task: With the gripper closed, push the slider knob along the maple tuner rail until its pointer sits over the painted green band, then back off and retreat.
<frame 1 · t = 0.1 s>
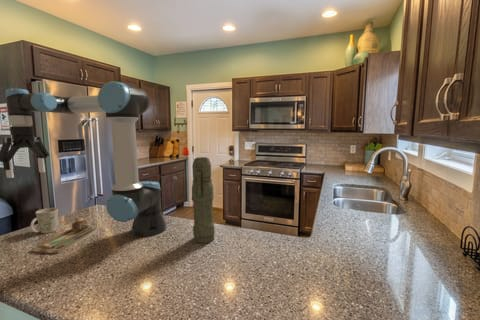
hand: (27, 174, 108), 28 cm above the countertop, fingers open, 13 cm apart
slider knob: (82, 225, 111), point 4 cm above the countertop, slide at 0.0 cm
green carved statue: (204, 239, 104), on the countertop
mug: (45, 233, 114), on the countertop
tuner board: (67, 240, 105), on the countertop
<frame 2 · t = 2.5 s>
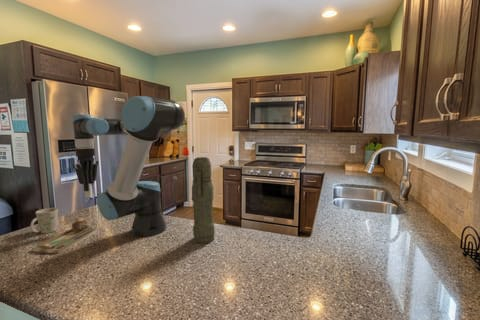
hand: (89, 197, 117), 15 cm above the countertop, fingers closed
nothing on the countertop moved.
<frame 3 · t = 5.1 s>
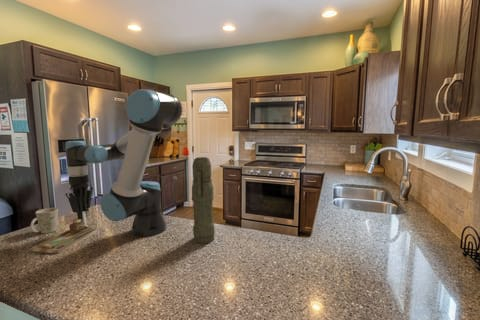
hand: (83, 225, 113), 3 cm above the countertop, fingers closed
slider knob: (80, 226, 109), point 4 cm above the countertop, slide at 1.4 cm, touching gripper
everything else where it was.
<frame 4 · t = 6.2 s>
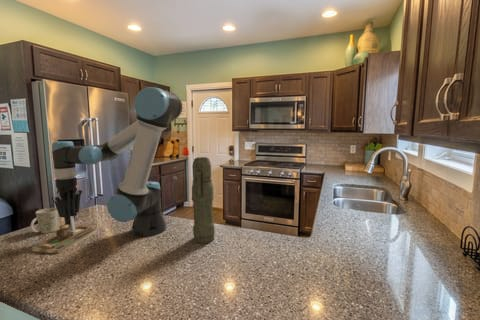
hand: (71, 230, 107), 3 cm above the countertop, fingers closed
slider knob: (68, 232, 103), point 4 cm above the countertop, slide at 7.8 cm, touching gripper
everything else where it was.
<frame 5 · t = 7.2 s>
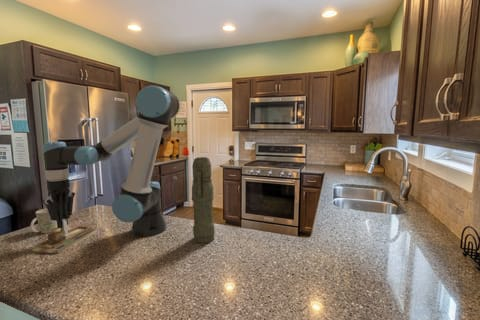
hand: (63, 234, 103), 3 cm above the countertop, fingers closed
slider knob: (60, 235, 100), point 4 cm above the countertop, slide at 11.5 cm, touching gripper
everything else where it was.
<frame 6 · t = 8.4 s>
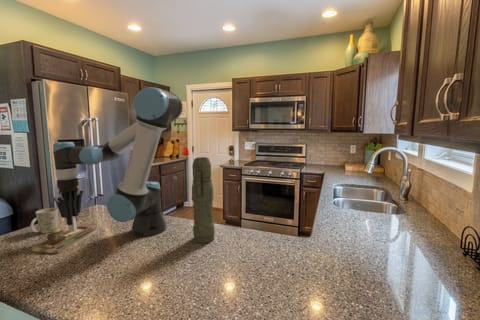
hand: (73, 230, 107), 3 cm above the countertop, fingers closed
slider knob: (59, 236, 99), point 4 cm above the countertop, slide at 11.8 cm
everything else where it was.
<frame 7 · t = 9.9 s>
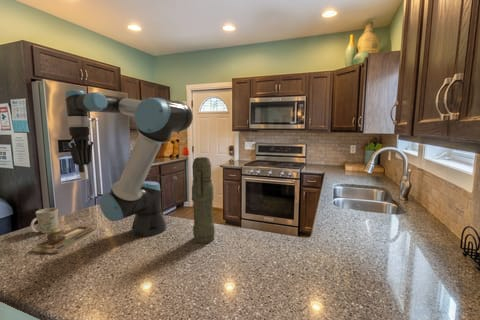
hand: (84, 178, 111), 25 cm above the countertop, fingers closed
nothing on the countertop moved.
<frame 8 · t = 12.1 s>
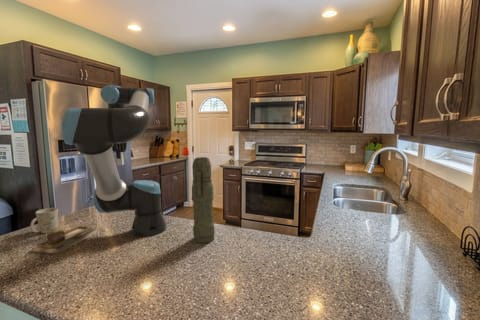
hand: (120, 164, 125), 29 cm above the countertop, fingers closed
nothing on the countertop moved.
at the end: slider knob slide at 11.8 cm; the gripper is holding nothing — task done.
